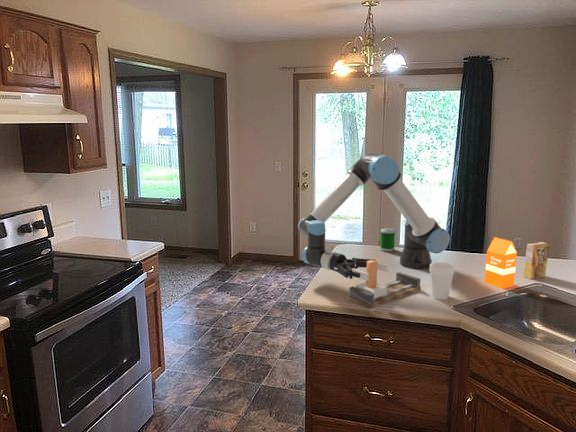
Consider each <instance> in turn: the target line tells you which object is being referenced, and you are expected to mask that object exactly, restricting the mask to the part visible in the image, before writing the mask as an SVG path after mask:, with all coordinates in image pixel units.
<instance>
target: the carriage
mask: <svg viewBox="0 0 576 432" xmlns="http://www.w3.org/2000/svg"><path fill="white" fill-rule="evenodd" d="M377 262H378V261H377V260H376V261H374V260H373V259H372V260H369V261H367V267H366V273H369V280H368V281H367V280H365V282H362V283H359V284H356V285H355V287H356V288H358V289H361V290H364V291H366V292H369V293H371V294H374V299H375V298H377V297H380V296H383V295H386V294H387V287H385V286H383V285H384V284H380V283H377V282H378V281H377V280H378V270H377Z"/></svg>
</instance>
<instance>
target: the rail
mask: <svg viewBox="0 0 576 432" xmlns="http://www.w3.org/2000/svg"><path fill="white" fill-rule="evenodd" d="M382 285H383V286H385V287H387V294H386V295H383V296H380V297H377V298H375V299H374V294H371V293H369V292H366V291H364V290H361V289H358V288H356V286H350V287H349V296H348V301H350V302H352V303H354V304H357V305H360V306H363V307H364V308H367V309H371V308H375V307H377V306H380V305H382V304H385V303H388V302H390V301H394V300H396V299H400V298H403V297H405V296H407V295H410V294H413V293H416V292H419V291H421V289H422V288H421V278H419V277H416V276H413V275H410V274H406V273H403V272H402V271H401V272H400V271H399V272H396V274H395V280H394V281H392V282H388V283H385V284H382Z"/></svg>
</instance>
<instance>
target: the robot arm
mask: <svg viewBox="0 0 576 432" xmlns="http://www.w3.org/2000/svg"><path fill="white" fill-rule="evenodd" d="M399 167H400V166H399V164H398V162H397V161H396V159H395V158H393V157H391V156H388V155H386V154H379V153H378V154H377V153H373V152H372V153H367V154H365V155H363V156H362V157H360V158H359V159H358V160H357V161H356V162H354V164H352V166H351V167H350V168H349V169H348V170H347V174H346V175H345V177H343V179H342V180H341V181H340V182H339V183H338V184H337V185H336V186H335V187H334V188H333V190H332V191H331V192H330V193H329V194H328V195H326V196H325V198H323V200H322V201H321V202H320V203H319V204H318V205H317V206H316V208H315V209H314V210H313V211H312V212H310V214H309V215H307V217H303V218H301V219H300V220H299V221H298V224H297V228H298V230H299V232H300V234H301V235H302V236H304V237H305V238H306V239H307V246H306V247H304V248H303V250H302V253H301V259H302V261H303V262H304V263H305V264H308V265H310V266H315V267H319V268H322V269H325V270H327V271H333V272H337V273H338V274H339V275H342V276H343V277H345V278H346V279H347V278H349V279H350V280H352V279H353V278H355V279H359V280H364V281H366V280H367V281H368V280H369V273H367V272H365V271H361V270H357V269H358V268H367V261H369V260H374V261H377V260H376V259H374V258H372V259H370V258H358V257H352V258H348V259H347V257H346V255H344V254H343V253H338V252H335V251H330V250H327V249H326V230H327V229H326V222H327V221H328V220H329V219H330V218H331V217H332V216H333V214H334V213H335V212H336V211H337V210H338V209H339V208H340V207H341V206H342V205H343V204H344V203H345V202H346V201H347V200H348V199H349V198H350V197H351V196H352V194H354V192H355V191H356V190H357V189H358V188H359V187H361V186H365V184H366V183H367V182H369V181H371V182H372V183H373V184H374V186H375V187H376V188H377V190H379V191H380V192H384V193H385V194H386V196H387V197H388V198H389V199H390V200H391V202H392V203H393V205H394V206H395V207H396V208H397V210H398V211H399V212H400V214H401V215H402V216H403V218H404V219H405V220H404V221H405V222H404V236H403V237H404V239H403V240H404V242H403V244H404V245H403V250H402V252H401V254H400V257H399V265H401V266H403V267H406V268H410V269H427V268H428V269H429V268H430V264H431V263H433V260H432V256H431V253H433V254H439V253H440V254H441V253H443V251H445V250H447V248H448V247H449V244H450V240H451V238H450V237H451V236H450V234H449V232H448V231H447V230H446V229H445V228H443V227H441V226H440V225H439V224H438V222H437V221H436V219H435V218H434V217H429V216H428V214H427V213H426V211H425V209H423V208H422V206H421V205H420V204H419V202H418V200H417V199H416V198H415V197H414V195H413V194H412V193H411V191H410V190H409V189H408V187H407V186H406V184H405V183H404V182H403V180H402V173H401V171H400V168H399ZM388 268H389V264H385V263H380V262H378V261H377V271H380V272H381V271H383V272H386V273H387V272H388V271H389V269H388Z"/></svg>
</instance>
